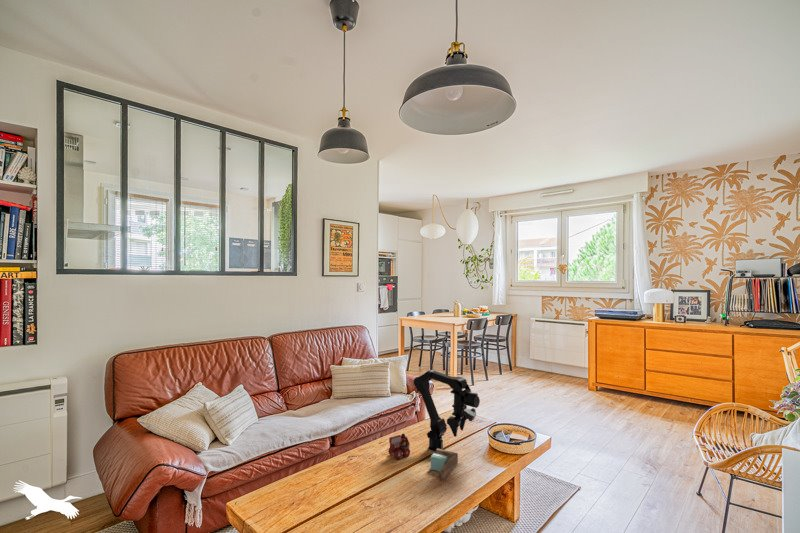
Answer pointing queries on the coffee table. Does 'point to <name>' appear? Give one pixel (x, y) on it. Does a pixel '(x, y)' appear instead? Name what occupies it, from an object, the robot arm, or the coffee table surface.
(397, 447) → the toy fire truck
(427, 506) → the coffee table surface
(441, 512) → the coffee table surface
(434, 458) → the teal and white block
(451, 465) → the l-shaped wooden block
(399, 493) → the coffee table surface
